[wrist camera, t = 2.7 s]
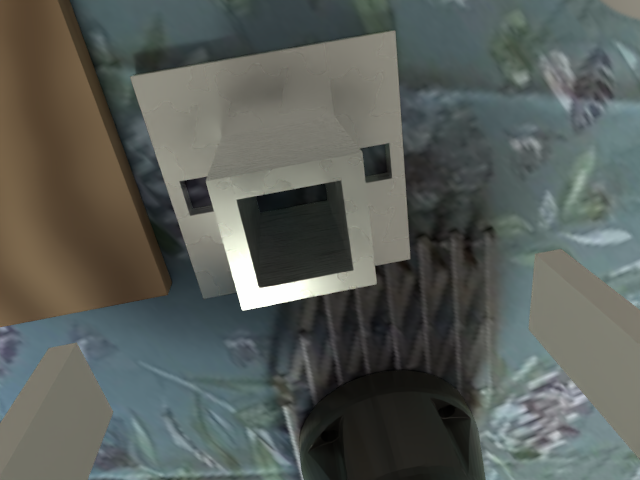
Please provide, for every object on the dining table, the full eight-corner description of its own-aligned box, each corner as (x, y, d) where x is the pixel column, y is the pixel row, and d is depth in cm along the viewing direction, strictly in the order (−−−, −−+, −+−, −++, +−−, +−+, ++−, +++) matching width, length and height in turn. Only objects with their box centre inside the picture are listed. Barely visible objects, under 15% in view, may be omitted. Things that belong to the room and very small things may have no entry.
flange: (389, 30, 24) (452, 33, 16) (405, 250, 31) (456, 332, 23) (135, 74, 24) (71, 100, 16) (205, 289, 30) (184, 386, 22)
